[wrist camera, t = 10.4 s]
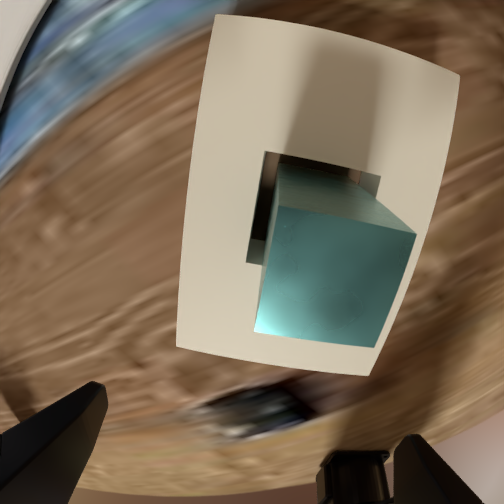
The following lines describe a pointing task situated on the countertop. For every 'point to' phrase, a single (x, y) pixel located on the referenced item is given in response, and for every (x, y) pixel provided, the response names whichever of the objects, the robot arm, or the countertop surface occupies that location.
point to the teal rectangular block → (329, 260)
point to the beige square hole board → (305, 146)
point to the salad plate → (16, 35)
